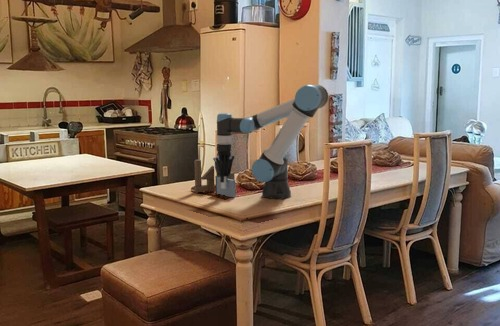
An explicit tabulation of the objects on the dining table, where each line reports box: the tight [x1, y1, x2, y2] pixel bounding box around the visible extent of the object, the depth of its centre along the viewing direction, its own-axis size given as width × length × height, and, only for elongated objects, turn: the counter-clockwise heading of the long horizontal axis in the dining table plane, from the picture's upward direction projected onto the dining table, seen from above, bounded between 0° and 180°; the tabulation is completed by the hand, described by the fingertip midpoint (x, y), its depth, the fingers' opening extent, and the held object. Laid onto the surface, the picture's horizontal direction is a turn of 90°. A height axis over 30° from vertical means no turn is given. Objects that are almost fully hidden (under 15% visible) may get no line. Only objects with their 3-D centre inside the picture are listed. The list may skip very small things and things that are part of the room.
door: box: [217, 177, 237, 198], centre depth 277 cm, size 3×12×9 cm, turn 48°
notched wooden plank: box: [214, 171, 236, 194], centre depth 286 cm, size 2×15×11 cm, turn 144°
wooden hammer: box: [193, 159, 216, 194], centre depth 287 cm, size 4×11×18 cm, turn 111°
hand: (223, 188), depth 273 cm, fingers closed
